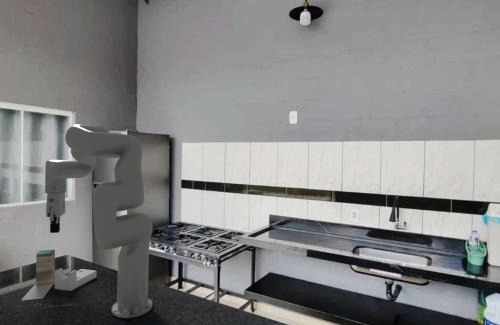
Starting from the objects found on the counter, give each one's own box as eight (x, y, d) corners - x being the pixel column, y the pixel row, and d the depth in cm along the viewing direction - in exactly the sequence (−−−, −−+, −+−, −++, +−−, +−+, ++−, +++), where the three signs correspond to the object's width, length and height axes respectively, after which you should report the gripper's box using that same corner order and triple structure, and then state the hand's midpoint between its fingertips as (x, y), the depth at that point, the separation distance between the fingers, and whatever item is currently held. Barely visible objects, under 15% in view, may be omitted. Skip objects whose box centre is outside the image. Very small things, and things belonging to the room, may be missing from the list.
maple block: (51, 284, 116) (51, 252, 116) (36, 285, 114) (36, 253, 114) (54, 279, 120) (54, 249, 120) (39, 281, 118) (40, 250, 118)
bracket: (70, 293, 111) (70, 272, 111) (54, 291, 112) (54, 270, 112) (96, 279, 123) (96, 260, 123) (81, 277, 125) (81, 259, 125)
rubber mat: (42, 299, 105) (42, 298, 105) (20, 302, 103) (20, 300, 103) (58, 278, 123) (58, 276, 123) (40, 279, 121) (40, 278, 121)
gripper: (60, 191, 122) (59, 236, 122) (70, 186, 136) (69, 227, 137) (39, 191, 119) (38, 237, 120) (51, 186, 134) (50, 228, 134)
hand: (54, 232), depth 128 cm, fingers closed
